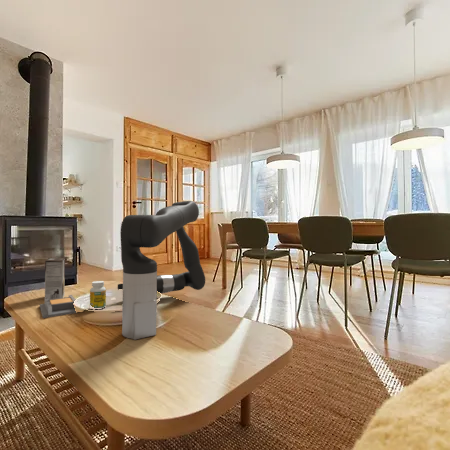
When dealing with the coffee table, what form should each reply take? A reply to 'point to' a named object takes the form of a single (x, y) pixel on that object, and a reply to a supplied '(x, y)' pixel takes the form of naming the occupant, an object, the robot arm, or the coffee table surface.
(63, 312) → the rail mount
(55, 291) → the coffee box
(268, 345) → the coffee table surface
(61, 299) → the snap plate
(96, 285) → the supplement bottle
